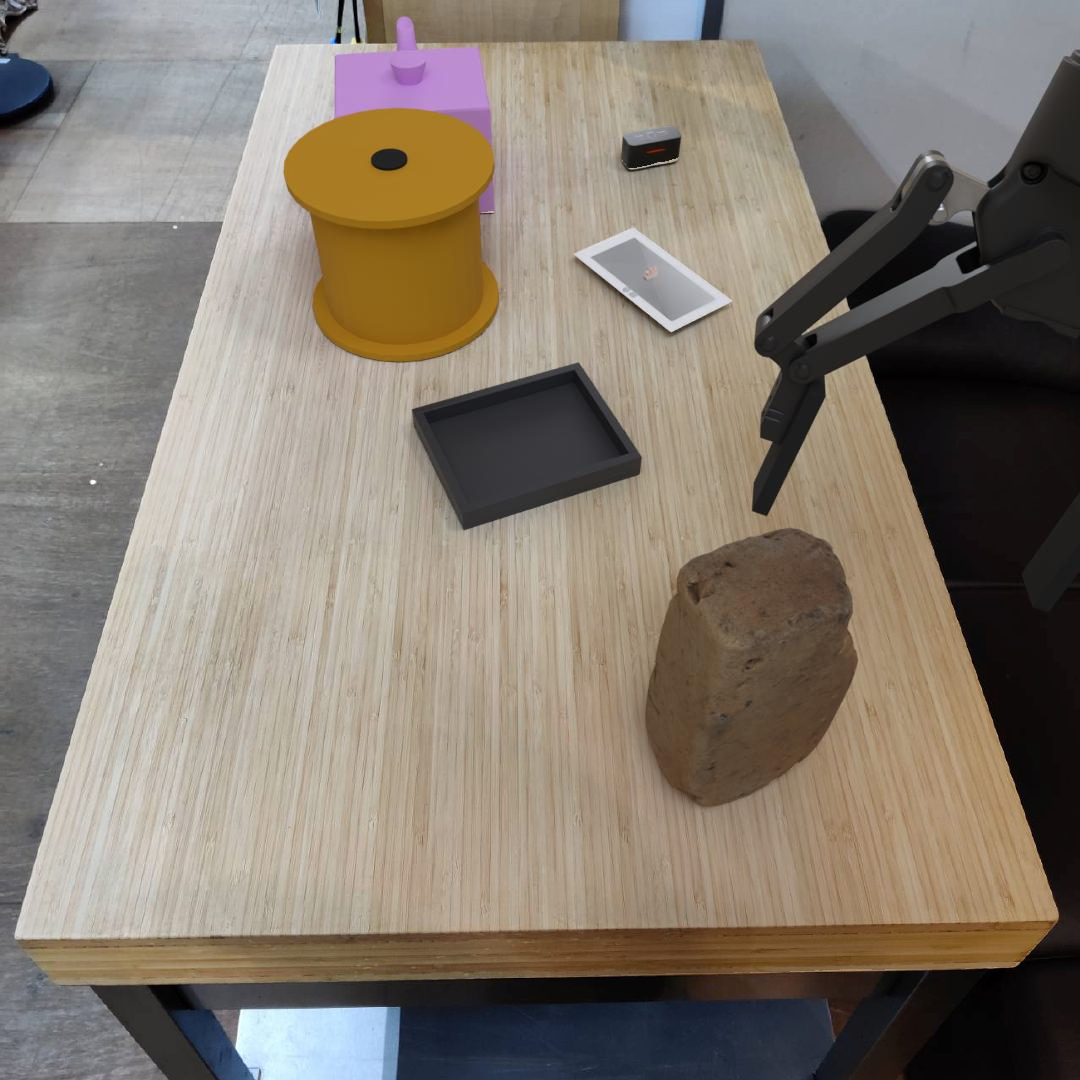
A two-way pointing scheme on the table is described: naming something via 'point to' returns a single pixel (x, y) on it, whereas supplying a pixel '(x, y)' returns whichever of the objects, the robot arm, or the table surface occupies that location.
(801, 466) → the table surface
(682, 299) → the touchpad
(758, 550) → the block
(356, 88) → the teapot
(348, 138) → the spool
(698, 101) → the table surface
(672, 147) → the dark grey bluetooth speaker
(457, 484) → the dark shallow tray
